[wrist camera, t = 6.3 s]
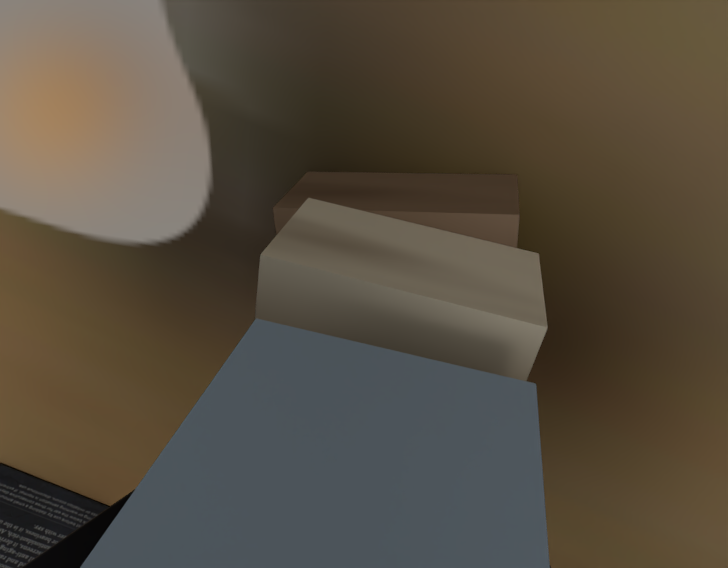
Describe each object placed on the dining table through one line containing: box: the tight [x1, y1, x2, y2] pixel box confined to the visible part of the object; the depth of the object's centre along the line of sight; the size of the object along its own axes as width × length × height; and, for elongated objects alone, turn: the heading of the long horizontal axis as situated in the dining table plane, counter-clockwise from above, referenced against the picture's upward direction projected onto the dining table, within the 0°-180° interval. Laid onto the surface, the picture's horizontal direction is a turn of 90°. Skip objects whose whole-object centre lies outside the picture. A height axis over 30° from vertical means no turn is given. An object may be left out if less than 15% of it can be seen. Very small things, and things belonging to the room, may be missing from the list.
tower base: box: [273, 172, 520, 248], centre depth 15 cm, size 6×6×3 cm
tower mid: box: [255, 198, 548, 381], centre depth 13 cm, size 5×5×3 cm
